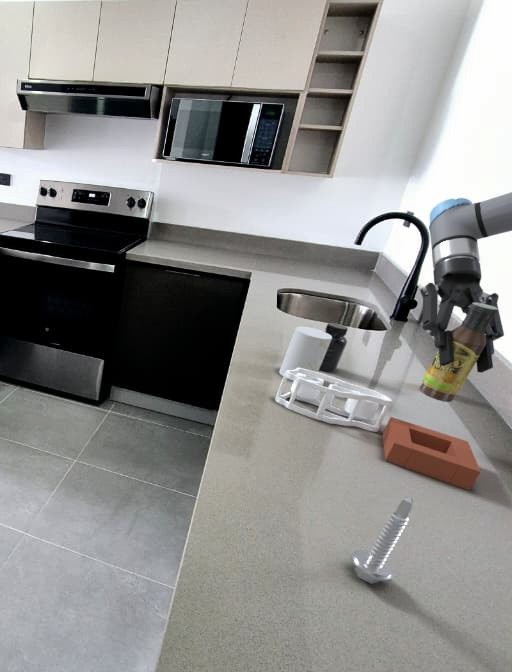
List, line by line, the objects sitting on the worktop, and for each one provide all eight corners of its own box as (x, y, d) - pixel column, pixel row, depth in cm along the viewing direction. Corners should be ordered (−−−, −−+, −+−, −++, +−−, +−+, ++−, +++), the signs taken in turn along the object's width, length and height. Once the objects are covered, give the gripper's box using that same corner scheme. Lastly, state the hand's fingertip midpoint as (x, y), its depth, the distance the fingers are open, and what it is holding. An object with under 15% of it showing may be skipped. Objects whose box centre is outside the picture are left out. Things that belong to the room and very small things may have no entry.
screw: (377, 566, 67) (394, 595, 63) (339, 558, 68) (354, 586, 63) (421, 489, 62) (443, 514, 57) (380, 480, 62) (399, 505, 58)
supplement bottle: (313, 359, 140) (329, 319, 135) (338, 369, 136) (356, 328, 131) (303, 364, 136) (320, 323, 131) (330, 374, 132) (348, 332, 127)
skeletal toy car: (379, 423, 108) (394, 393, 105) (375, 441, 100) (390, 410, 97) (283, 388, 119) (294, 360, 116) (272, 403, 110) (283, 373, 107)
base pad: (457, 458, 99) (467, 441, 97) (469, 490, 88) (481, 472, 86) (382, 433, 104) (390, 416, 102) (385, 460, 94) (394, 442, 92)
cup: (308, 386, 122) (327, 341, 117) (275, 374, 126) (291, 329, 121) (317, 378, 127) (335, 335, 123) (285, 366, 132) (301, 324, 127)
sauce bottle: (410, 389, 105) (455, 299, 97) (430, 388, 107) (475, 299, 99) (441, 404, 100) (491, 310, 92) (461, 403, 102) (512, 310, 94)
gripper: (490, 283, 108) (502, 382, 99) (396, 268, 110) (401, 364, 101) (521, 263, 101) (537, 368, 92) (420, 248, 103) (427, 349, 94)
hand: (466, 366), depth 97 cm, fingers closed on sauce bottle, 6 cm apart
